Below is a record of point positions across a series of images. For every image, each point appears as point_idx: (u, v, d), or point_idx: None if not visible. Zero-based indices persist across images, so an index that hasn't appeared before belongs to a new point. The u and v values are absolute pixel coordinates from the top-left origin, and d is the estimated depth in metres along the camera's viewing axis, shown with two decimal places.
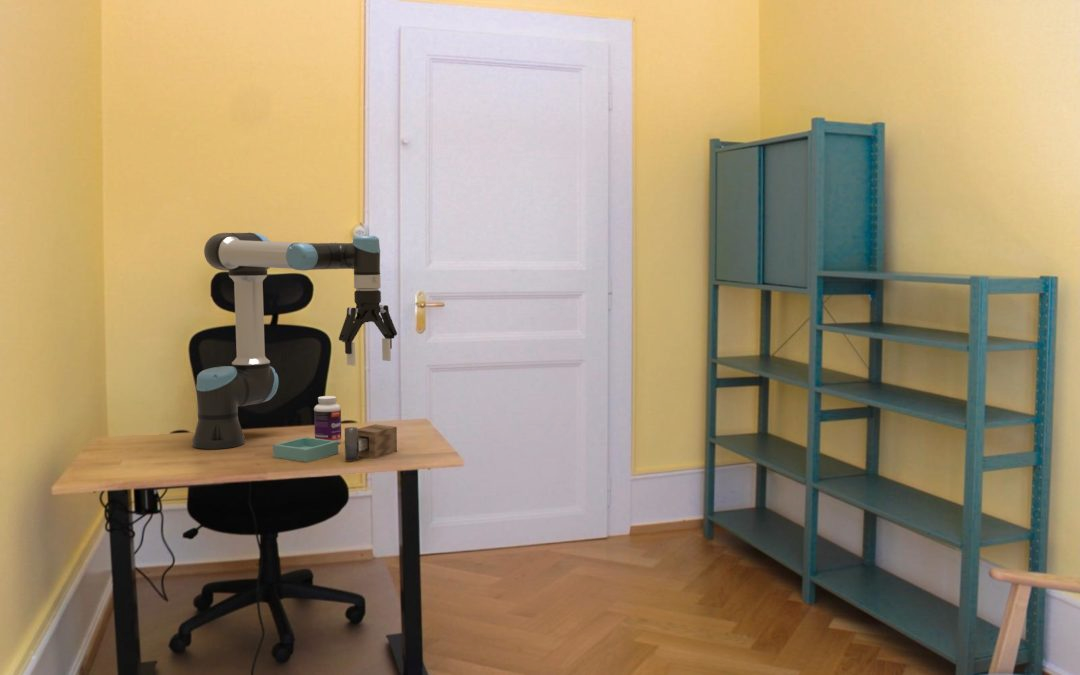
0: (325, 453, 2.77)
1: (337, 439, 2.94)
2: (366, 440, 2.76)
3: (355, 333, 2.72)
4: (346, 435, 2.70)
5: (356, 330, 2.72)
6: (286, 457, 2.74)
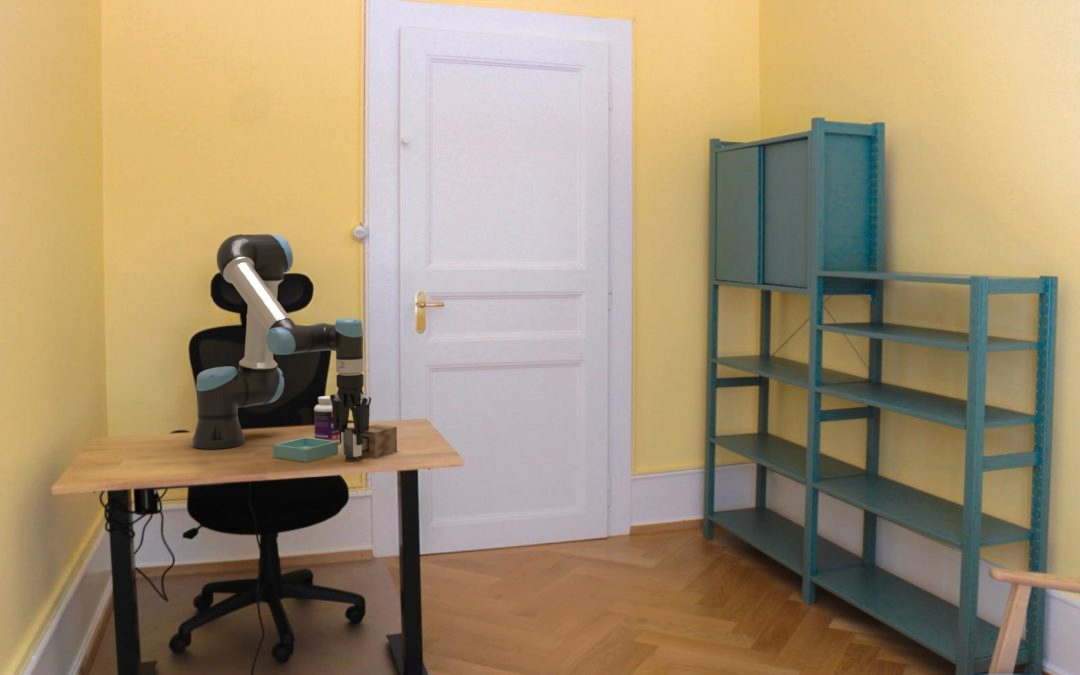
0: (325, 453, 2.77)
1: (337, 439, 2.94)
2: (366, 440, 2.76)
3: (341, 421, 2.72)
4: (346, 435, 2.70)
5: (341, 418, 2.72)
6: (286, 457, 2.74)
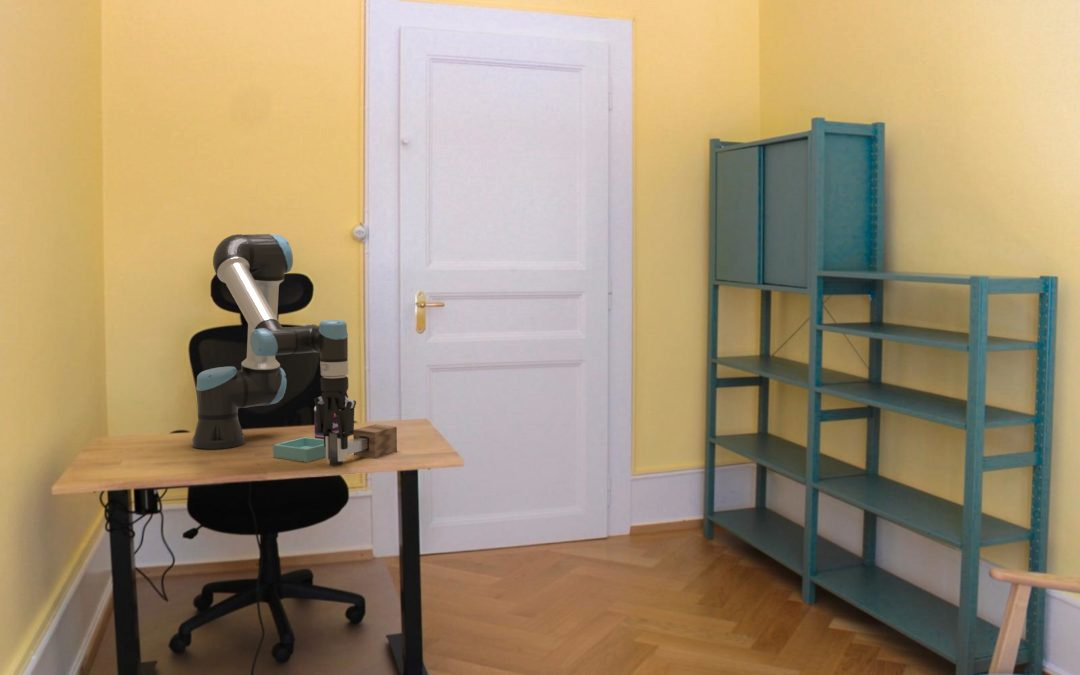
0: (325, 453, 2.77)
1: None
2: (351, 444, 2.70)
3: (325, 425, 2.66)
4: (330, 439, 2.65)
5: (325, 421, 2.66)
6: (286, 457, 2.74)
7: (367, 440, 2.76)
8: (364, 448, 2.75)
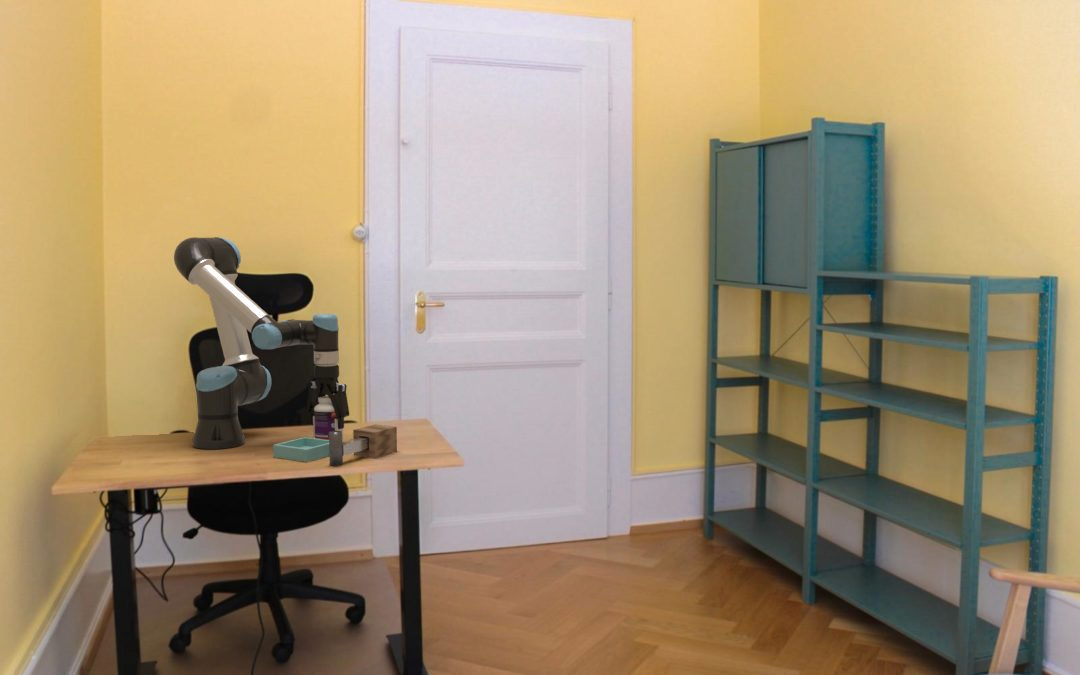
0: (325, 453, 2.77)
1: None
2: (351, 444, 2.70)
3: (314, 406, 2.96)
4: (330, 439, 2.65)
5: (314, 403, 2.96)
6: (286, 457, 2.74)
7: (367, 440, 2.76)
8: (364, 448, 2.75)
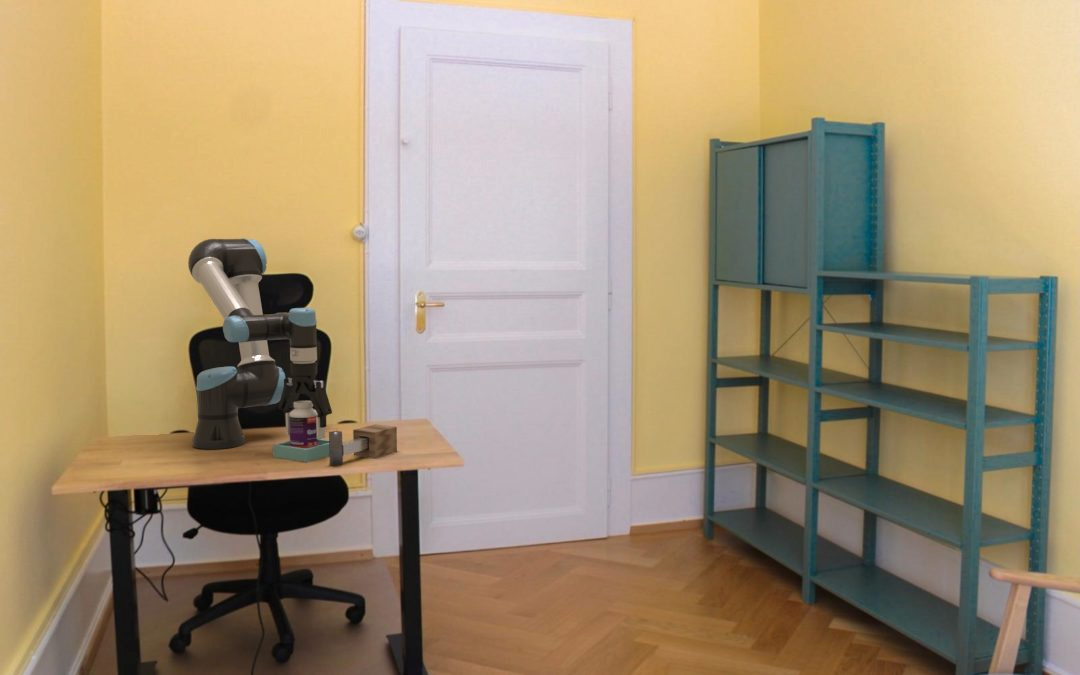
0: (325, 453, 2.77)
1: (313, 446, 2.77)
2: (351, 444, 2.70)
3: (288, 404, 2.79)
4: (330, 439, 2.65)
5: (288, 401, 2.79)
6: (286, 457, 2.74)
7: (367, 440, 2.76)
8: (364, 448, 2.75)
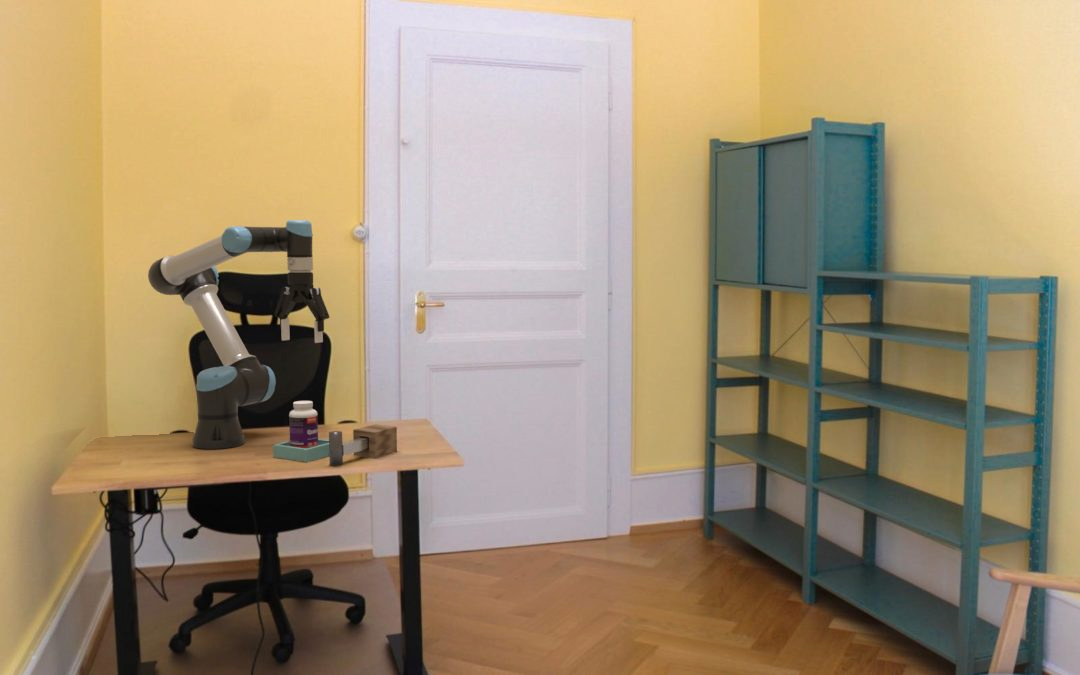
0: (325, 453, 2.77)
1: None
2: (351, 444, 2.70)
3: (283, 311, 2.93)
4: (330, 439, 2.65)
5: (284, 308, 2.93)
6: (286, 457, 2.74)
7: (367, 440, 2.76)
8: (364, 448, 2.75)
